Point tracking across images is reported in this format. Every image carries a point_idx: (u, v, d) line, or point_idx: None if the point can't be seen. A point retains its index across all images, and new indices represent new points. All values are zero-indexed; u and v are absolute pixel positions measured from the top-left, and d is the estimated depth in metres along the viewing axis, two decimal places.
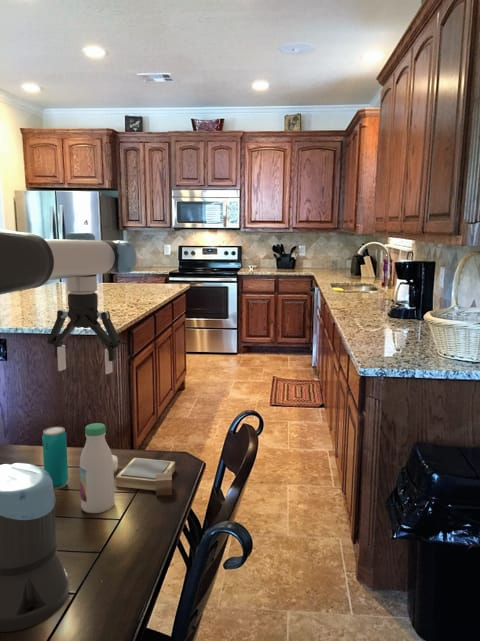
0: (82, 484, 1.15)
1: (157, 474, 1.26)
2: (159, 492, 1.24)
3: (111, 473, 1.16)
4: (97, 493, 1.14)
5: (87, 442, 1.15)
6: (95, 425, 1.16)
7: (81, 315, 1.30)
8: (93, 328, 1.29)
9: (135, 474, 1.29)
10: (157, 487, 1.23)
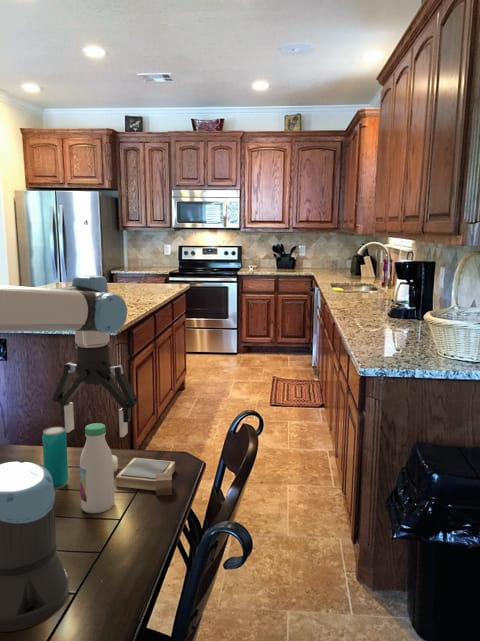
0: (82, 484, 1.15)
1: (157, 474, 1.26)
2: (159, 492, 1.24)
3: (111, 473, 1.16)
4: (97, 493, 1.14)
5: (87, 442, 1.15)
6: (95, 425, 1.16)
7: (91, 370, 1.13)
8: (105, 385, 1.12)
9: (135, 474, 1.29)
10: (157, 487, 1.23)
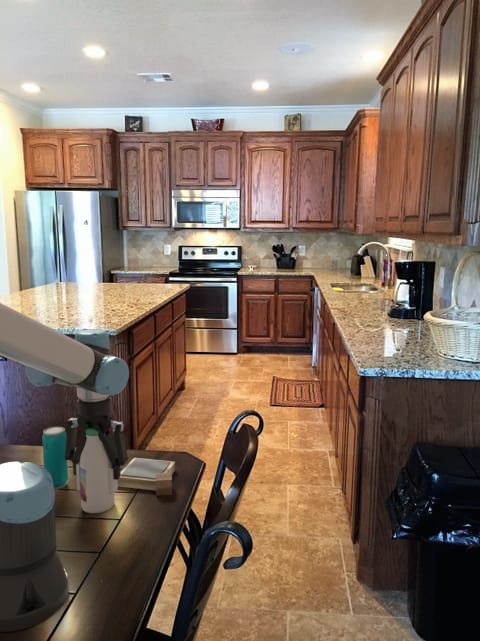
0: (82, 484, 1.15)
1: (157, 474, 1.26)
2: (159, 492, 1.24)
3: None
4: (97, 493, 1.14)
5: (87, 442, 1.15)
6: None
7: (93, 423, 1.14)
8: (102, 440, 1.14)
9: (135, 474, 1.29)
10: (157, 487, 1.23)
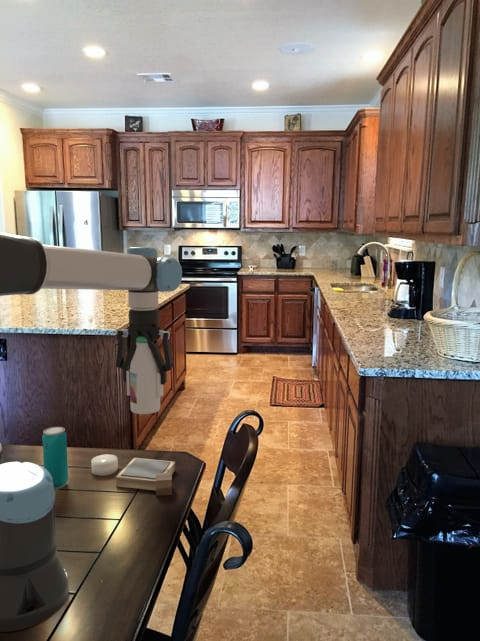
0: (133, 387, 1.26)
1: (157, 474, 1.26)
2: (159, 492, 1.24)
3: None
4: (146, 395, 1.26)
5: (137, 349, 1.26)
6: None
7: (142, 332, 1.26)
8: (151, 347, 1.26)
9: (135, 474, 1.29)
10: (157, 487, 1.23)
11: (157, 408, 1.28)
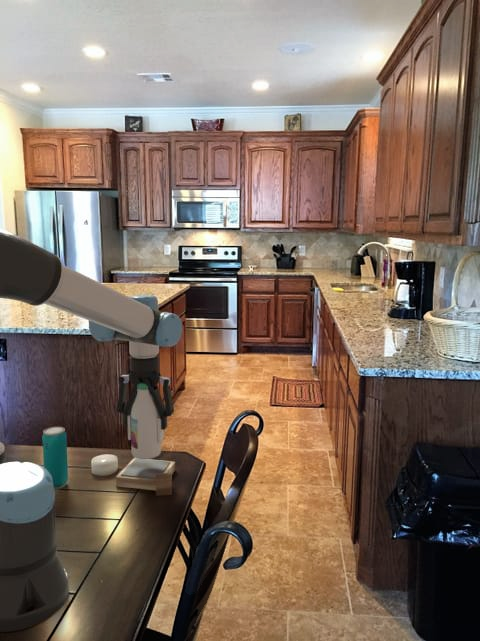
0: (134, 433, 1.28)
1: (157, 474, 1.26)
2: (159, 492, 1.24)
3: None
4: (147, 440, 1.28)
5: (138, 395, 1.28)
6: None
7: (143, 378, 1.28)
8: (152, 393, 1.27)
9: (135, 474, 1.29)
10: (157, 487, 1.23)
11: (158, 452, 1.30)
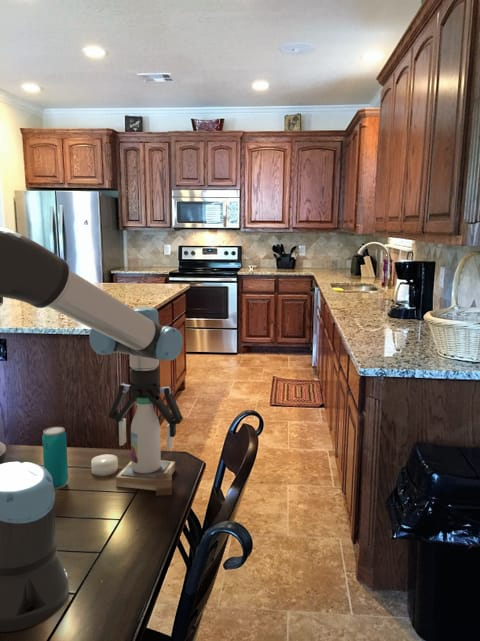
0: (133, 447, 1.29)
1: (157, 474, 1.26)
2: (159, 492, 1.24)
3: (159, 438, 1.30)
4: (147, 455, 1.28)
5: (138, 410, 1.29)
6: None
7: (143, 390, 1.28)
8: (155, 404, 1.28)
9: (135, 474, 1.29)
10: (157, 487, 1.23)
11: (158, 467, 1.31)
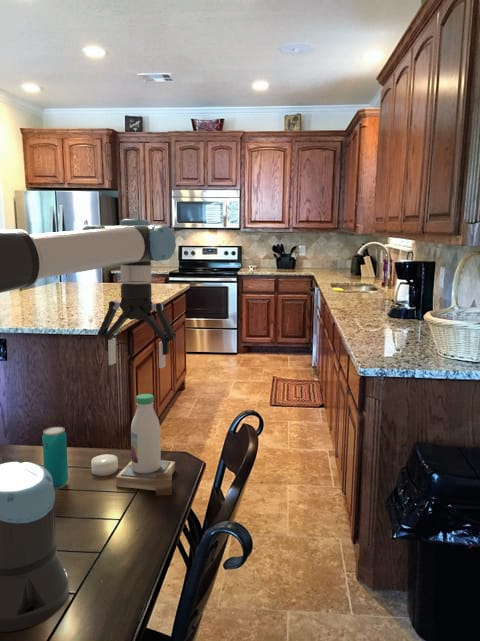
0: (133, 447, 1.29)
1: (157, 474, 1.26)
2: (159, 492, 1.24)
3: (159, 438, 1.30)
4: (147, 455, 1.28)
5: (138, 410, 1.29)
6: (144, 395, 1.30)
7: (134, 306, 1.24)
8: (147, 320, 1.23)
9: (135, 474, 1.29)
10: (157, 487, 1.23)
11: (158, 467, 1.31)
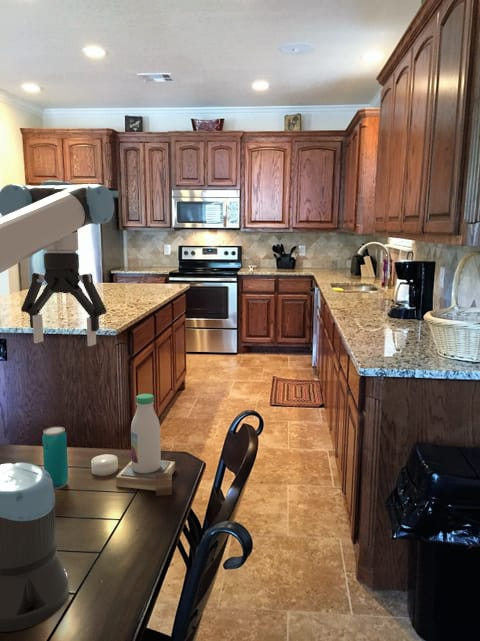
0: (133, 447, 1.29)
1: (157, 474, 1.26)
2: (159, 492, 1.24)
3: (159, 438, 1.30)
4: (147, 455, 1.28)
5: (138, 410, 1.29)
6: (145, 395, 1.30)
7: (59, 278, 1.13)
8: (73, 293, 1.12)
9: (135, 474, 1.29)
10: (157, 487, 1.23)
11: (158, 467, 1.31)
